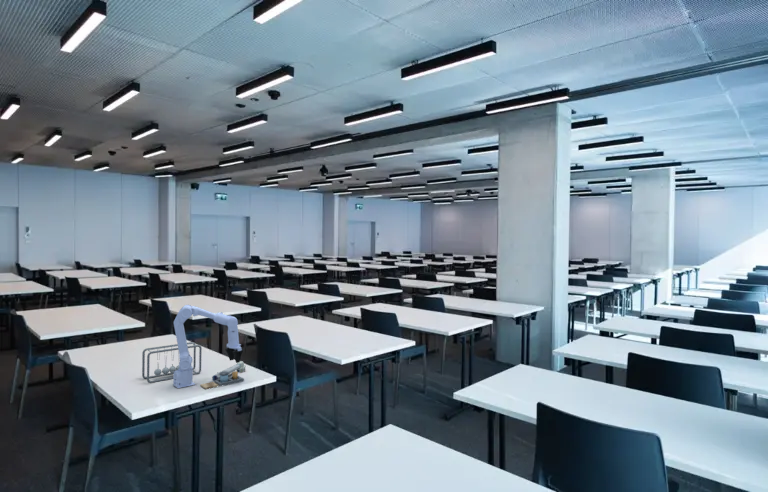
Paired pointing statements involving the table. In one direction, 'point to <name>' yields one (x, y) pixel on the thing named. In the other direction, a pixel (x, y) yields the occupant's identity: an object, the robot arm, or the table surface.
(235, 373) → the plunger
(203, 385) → the pad
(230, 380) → the housing
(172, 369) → the newton's cradle
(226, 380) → the cylinder
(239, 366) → the pale blue tube
